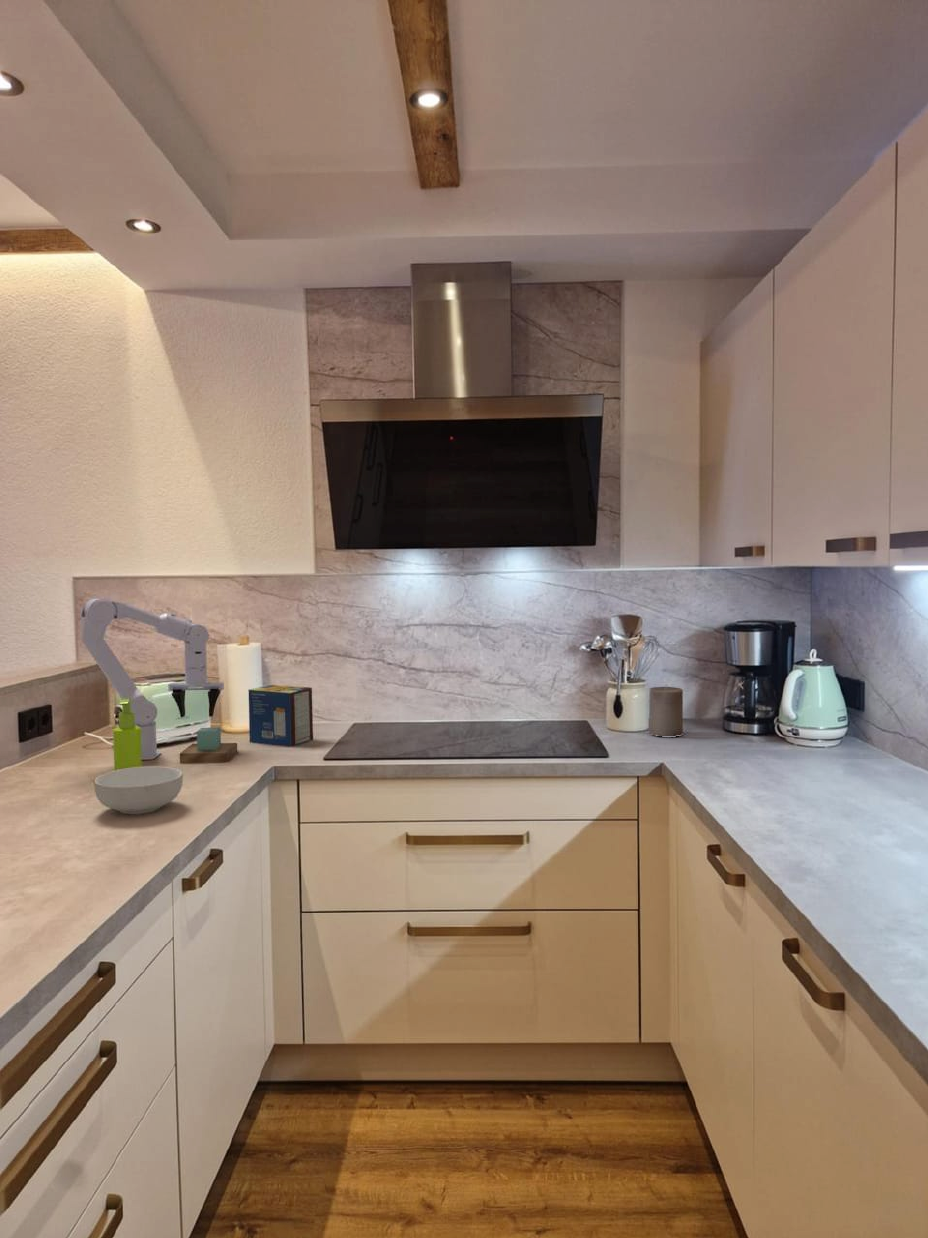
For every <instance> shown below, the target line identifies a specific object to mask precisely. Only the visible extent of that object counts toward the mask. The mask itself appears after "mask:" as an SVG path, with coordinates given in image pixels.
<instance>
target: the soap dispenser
mask: <svg viewBox="0 0 928 1238" xmlns="http://www.w3.org/2000/svg"><path fill="white" fill-rule="evenodd" d="M130 701H131V698H128V699H121V698H120V700H119V706H121V708H122V711H121V712H119V713H118V726H117V727H115V728H113V730H112V731H113V732H112V736H113V741H112V742H113V763H114V766H113V767H114V768H113V769H114V770H113V771H115V770H120V769H125V768H133V767H143V761H142V753H141V727H139V726H135V715H134V712H132V711H130Z"/></svg>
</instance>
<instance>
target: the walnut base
mask: <svg viewBox="0 0 928 1238" xmlns="http://www.w3.org/2000/svg"><path fill="white" fill-rule="evenodd" d="M237 753H238V742H221V746H220V747H219V748H218V749H217V750H197V743H192V744H190V745H189V746H188V747H186V748H185V749H183V750H182V751H181V752H180V753H179V764H195V763H196V764H199V763H228V762H229V761H230V760H231V759H232V757H234V756H235V755H236V754H237Z"/></svg>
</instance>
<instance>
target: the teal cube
mask: <svg viewBox="0 0 928 1238" xmlns="http://www.w3.org/2000/svg"><path fill="white" fill-rule="evenodd" d="M221 728H222V727H201V728H200V729H198V730H197V731H196V744H197V750H217V749H218V748H219V747H220V746H221V743H222V737H221V735H222V734H221Z"/></svg>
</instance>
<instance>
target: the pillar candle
mask: <svg viewBox="0 0 928 1238" xmlns="http://www.w3.org/2000/svg"><path fill="white" fill-rule="evenodd" d="M648 691H649V696H648V697H649V702H648V706H649V707H648V708H649V711H648V713H649V714H648V715H649V716H648V719H649V720H648V721H649V722H648V724H649V725H648V727H649V728H648V734H649V733H650V734H652V735H658V736H676V735H681V734H683V733H684V732H683V729H684V728H683V726H684V725H683V724H684V722H683V721H684V719H683V717H684V716H683V715H684V714H683V713H684V709H683V706H684V705H683V704H684V699H683V697H684V696H683V695H684V694H683V693H684V691H683V689H682V688H680V687H674V686H673V687H672V686H668V684H666V686H654V687H650V688H649V689H648ZM650 734H649V735H650ZM652 735H651V736H652Z"/></svg>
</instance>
